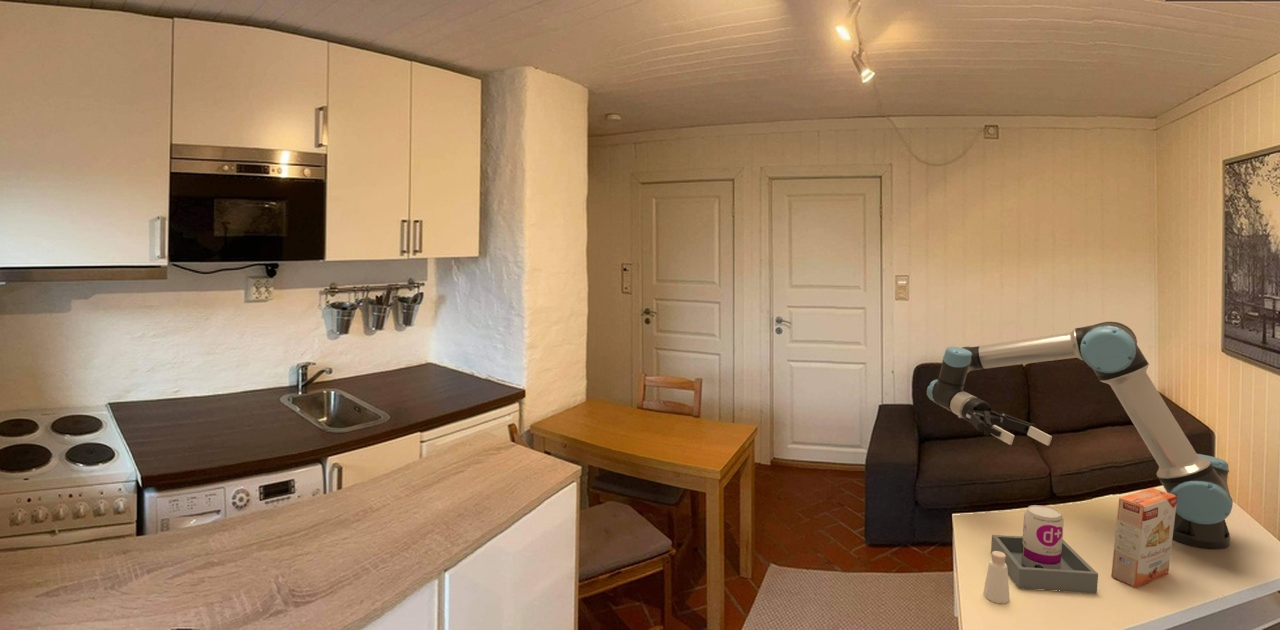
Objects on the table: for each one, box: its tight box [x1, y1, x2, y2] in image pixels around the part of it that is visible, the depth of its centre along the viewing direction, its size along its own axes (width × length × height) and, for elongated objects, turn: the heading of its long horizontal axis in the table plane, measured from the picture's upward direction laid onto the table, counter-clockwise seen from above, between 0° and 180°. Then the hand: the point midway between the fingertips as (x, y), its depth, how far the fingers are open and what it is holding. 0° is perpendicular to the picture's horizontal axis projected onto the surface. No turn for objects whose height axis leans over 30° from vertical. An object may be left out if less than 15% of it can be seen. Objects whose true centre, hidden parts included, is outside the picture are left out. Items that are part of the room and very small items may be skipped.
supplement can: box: [1021, 504, 1065, 569], centre depth 154 cm, size 8×8×15 cm
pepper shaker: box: [983, 551, 1011, 605], centre depth 145 cm, size 5×5×11 cm
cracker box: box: [1111, 487, 1177, 588], centre depth 151 cm, size 14×6×21 cm, turn 114°
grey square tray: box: [990, 534, 1099, 595], centre depth 155 cm, size 17×17×5 cm
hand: (1031, 440), depth 167 cm, fingers open, 13 cm apart
